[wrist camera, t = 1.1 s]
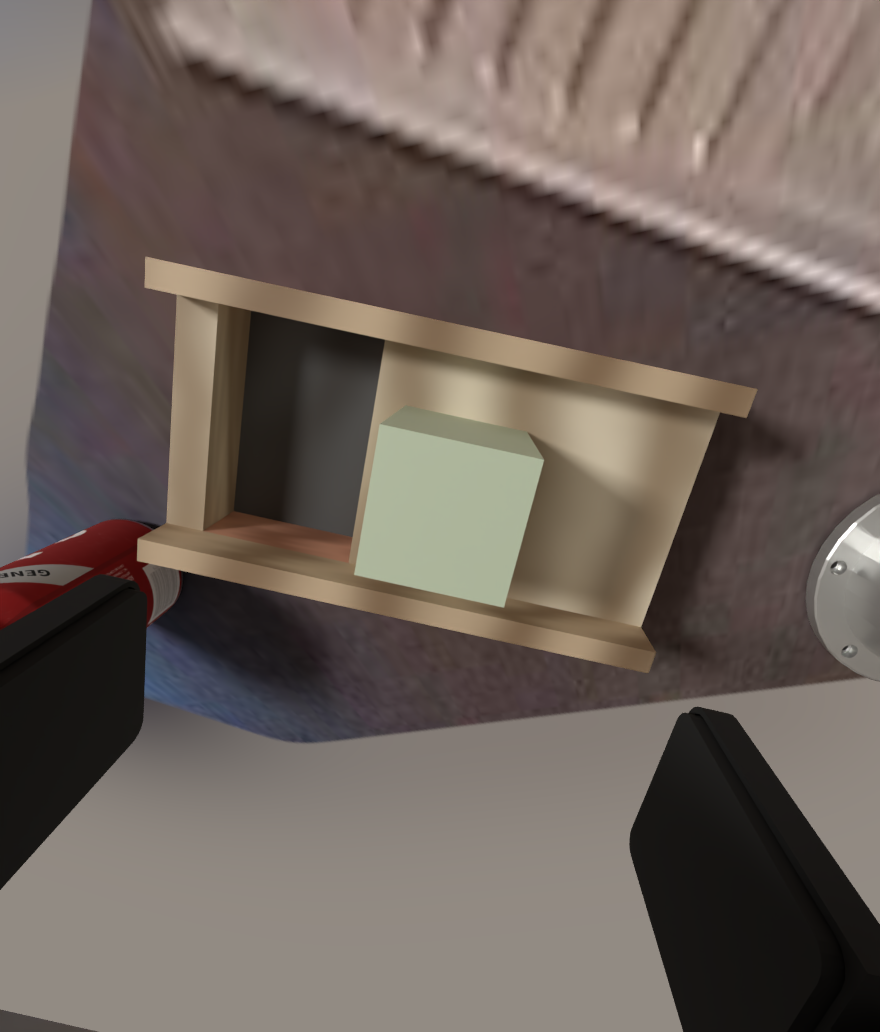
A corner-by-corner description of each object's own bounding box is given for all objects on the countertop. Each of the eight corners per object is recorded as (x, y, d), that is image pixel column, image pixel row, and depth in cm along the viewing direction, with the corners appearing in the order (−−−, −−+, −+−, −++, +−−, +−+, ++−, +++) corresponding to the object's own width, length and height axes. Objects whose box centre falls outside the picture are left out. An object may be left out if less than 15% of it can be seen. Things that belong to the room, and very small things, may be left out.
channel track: (695, 381, 28) (757, 389, 22) (615, 611, 32) (648, 673, 26) (219, 278, 28) (145, 256, 22) (202, 520, 32) (137, 560, 26)
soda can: (198, 535, 33) (46, 634, 21) (179, 626, 35) (32, 760, 23) (93, 500, 32) (-118, 580, 21) (81, 593, 34) (-117, 713, 23)
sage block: (526, 431, 25) (544, 459, 19) (497, 545, 27) (503, 607, 20) (405, 405, 25) (379, 424, 19) (384, 520, 27) (354, 574, 21)
